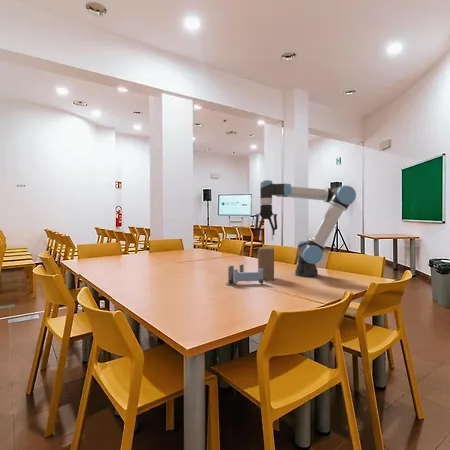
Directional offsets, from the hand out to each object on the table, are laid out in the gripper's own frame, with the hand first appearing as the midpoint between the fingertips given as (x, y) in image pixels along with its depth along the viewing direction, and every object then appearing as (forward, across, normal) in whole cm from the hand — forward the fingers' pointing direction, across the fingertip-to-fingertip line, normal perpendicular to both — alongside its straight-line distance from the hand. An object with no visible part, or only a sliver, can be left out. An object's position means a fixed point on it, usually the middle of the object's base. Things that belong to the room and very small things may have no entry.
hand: (266, 240), depth 200 cm
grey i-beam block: (+24, +13, +14) cm, 31 cm away
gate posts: (+25, +20, +6) cm, 33 cm away
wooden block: (+25, 0, 0) cm, 25 cm away
